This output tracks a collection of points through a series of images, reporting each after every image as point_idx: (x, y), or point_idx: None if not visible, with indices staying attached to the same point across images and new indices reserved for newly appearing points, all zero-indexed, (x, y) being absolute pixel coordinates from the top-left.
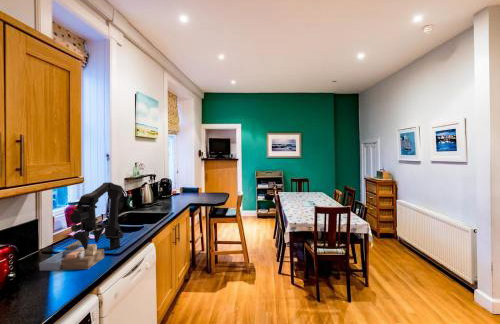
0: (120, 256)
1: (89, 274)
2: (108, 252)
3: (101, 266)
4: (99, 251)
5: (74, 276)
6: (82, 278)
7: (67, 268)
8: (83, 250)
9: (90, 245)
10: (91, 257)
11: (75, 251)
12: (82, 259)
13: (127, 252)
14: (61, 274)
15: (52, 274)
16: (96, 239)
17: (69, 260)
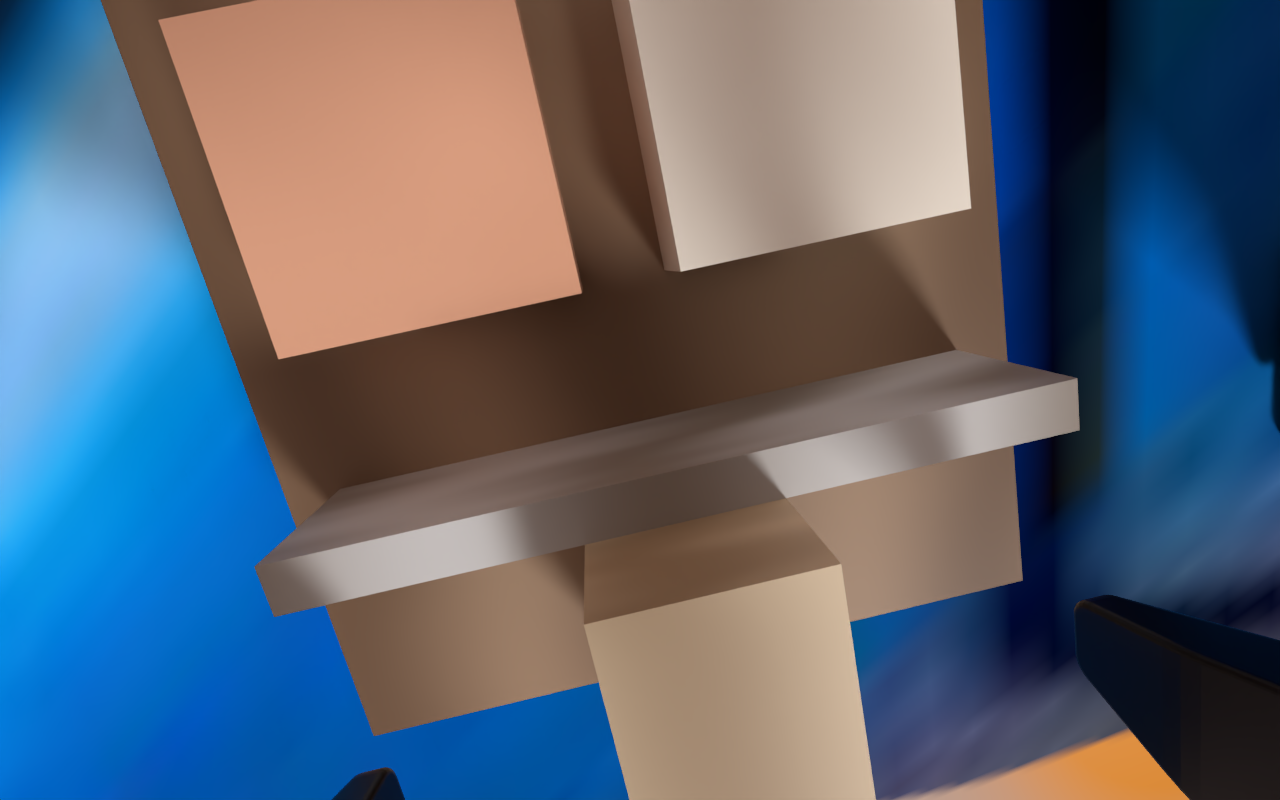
0: (961, 735)
1: (287, 782)
2: (1134, 379)
3: (569, 735)
4: (861, 604)
5: (146, 611)
6: (148, 790)
7: None
8: (715, 263)
9: (712, 737)
10: (520, 695)
11: (530, 81)
12: (342, 609)
13: (1124, 726)
14: (106, 294)
15: (28, 85)
16: (1233, 751)
17: (209, 265)
